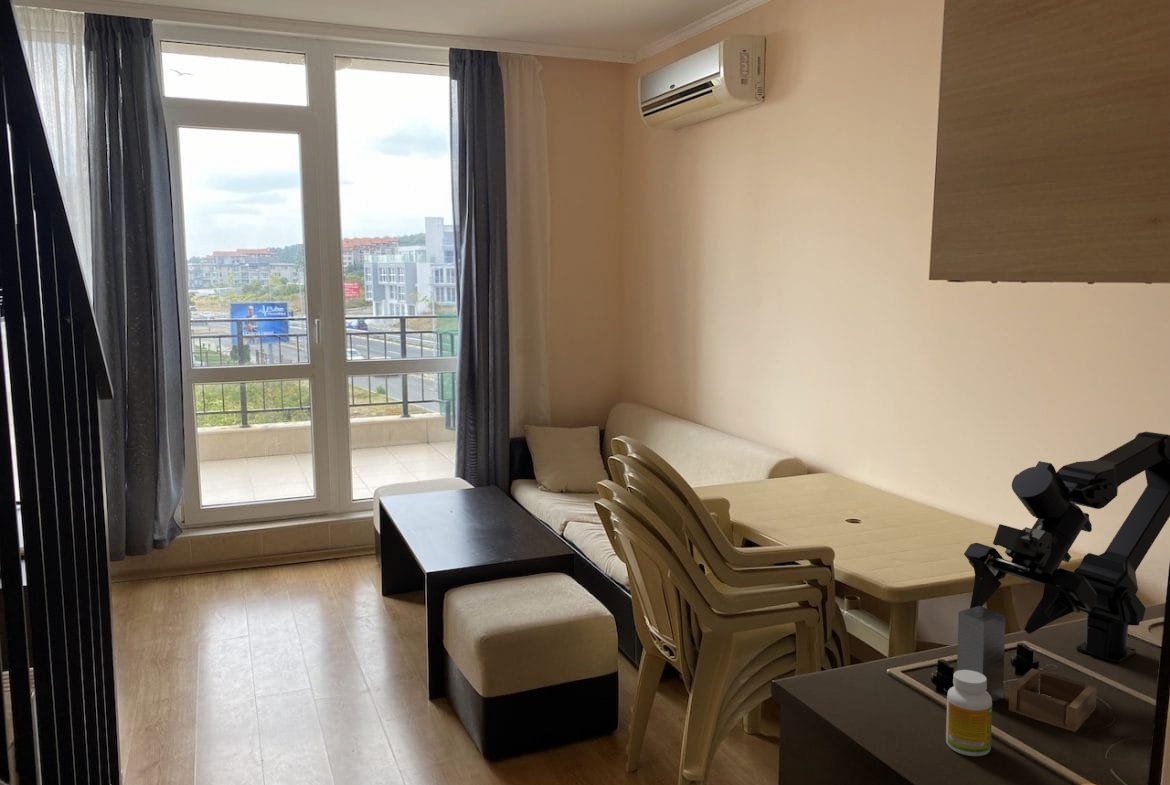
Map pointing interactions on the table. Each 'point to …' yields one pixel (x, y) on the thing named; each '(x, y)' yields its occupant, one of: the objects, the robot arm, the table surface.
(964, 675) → the supplement bottle
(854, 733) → the table surface
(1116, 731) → the table surface
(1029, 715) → the wooden square frame
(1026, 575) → the robot arm
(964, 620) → the steel square block
